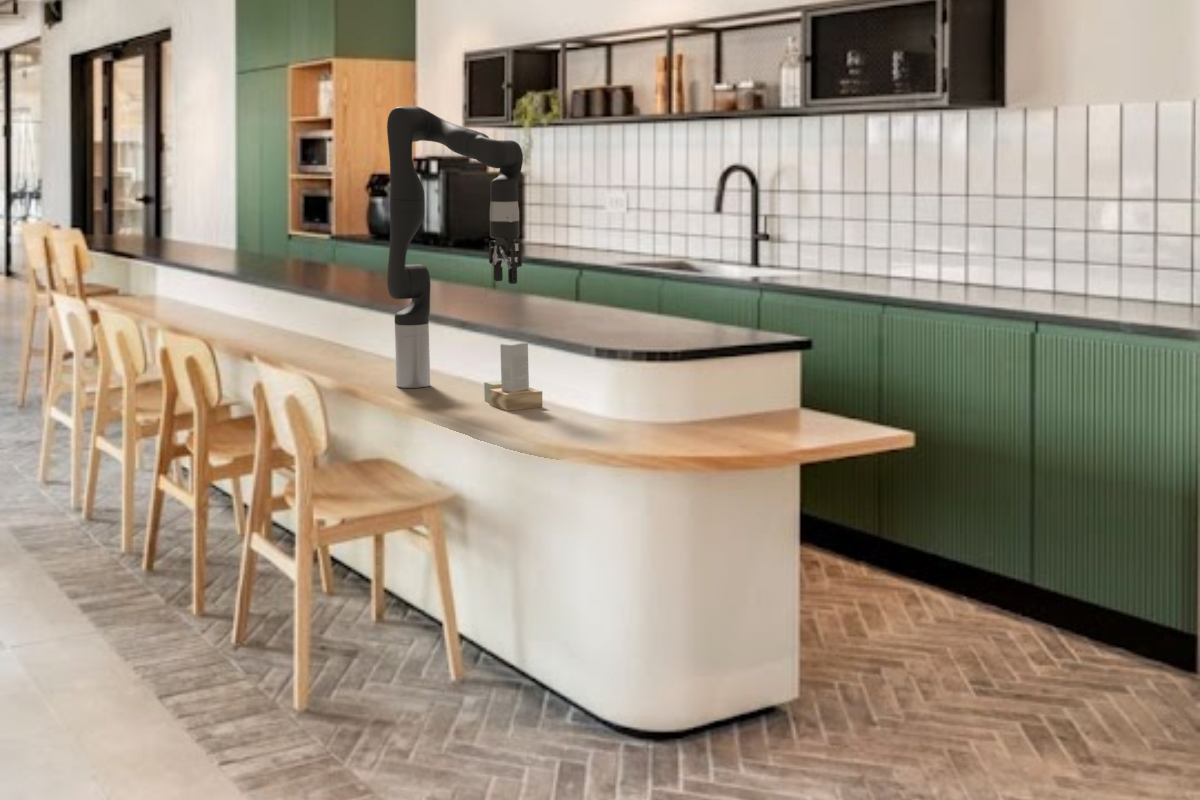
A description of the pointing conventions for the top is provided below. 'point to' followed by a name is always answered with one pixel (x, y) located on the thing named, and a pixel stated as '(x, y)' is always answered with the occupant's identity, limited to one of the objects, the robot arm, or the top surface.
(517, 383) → the skincare box
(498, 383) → the sage cube
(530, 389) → the block
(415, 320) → the robot arm
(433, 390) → the top surface
